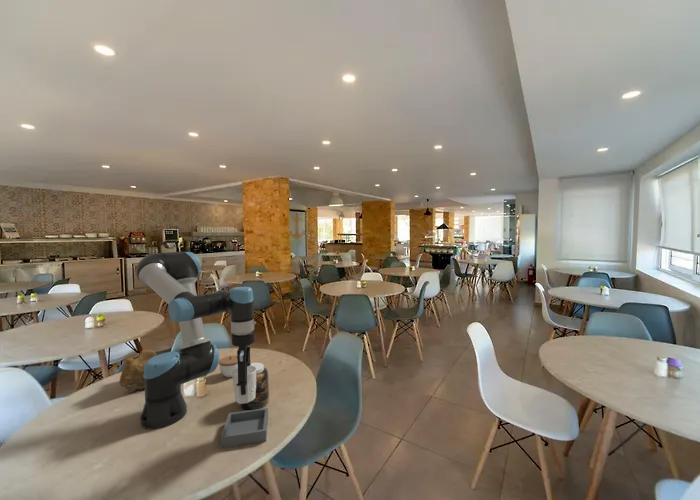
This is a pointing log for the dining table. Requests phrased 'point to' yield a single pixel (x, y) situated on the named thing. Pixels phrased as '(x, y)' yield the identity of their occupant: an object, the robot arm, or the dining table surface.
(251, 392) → the white cup
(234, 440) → the tray
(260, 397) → the jar
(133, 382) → the rough brown rock
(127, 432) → the dining table surface
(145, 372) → the robot arm
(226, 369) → the lidded jar
